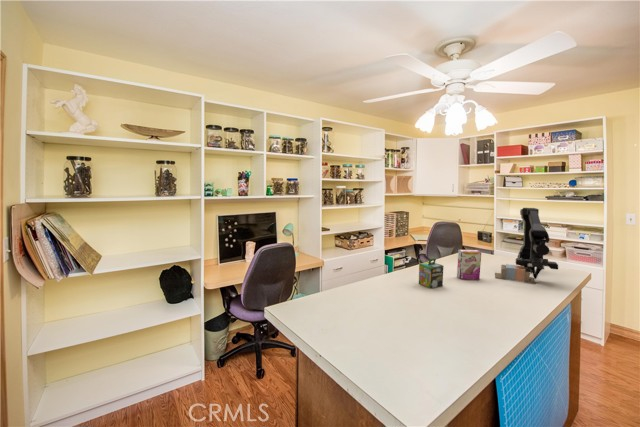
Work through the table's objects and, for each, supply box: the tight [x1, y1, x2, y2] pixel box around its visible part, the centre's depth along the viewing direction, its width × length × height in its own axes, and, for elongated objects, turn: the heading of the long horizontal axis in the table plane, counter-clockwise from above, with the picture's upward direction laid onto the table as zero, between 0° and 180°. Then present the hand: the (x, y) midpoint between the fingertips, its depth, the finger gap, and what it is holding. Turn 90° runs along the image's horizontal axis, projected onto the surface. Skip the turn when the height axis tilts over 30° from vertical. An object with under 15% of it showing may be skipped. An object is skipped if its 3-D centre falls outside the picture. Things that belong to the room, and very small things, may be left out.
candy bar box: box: [456, 249, 482, 281], centre depth 167 cm, size 11×5×16 cm, turn 84°
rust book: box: [514, 264, 526, 283], centre depth 166 cm, size 8×4×7 cm, turn 149°
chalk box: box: [418, 258, 444, 289], centre depth 157 cm, size 9×9×15 cm
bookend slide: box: [524, 267, 537, 285], centre depth 163 cm, size 10×5×6 cm, turn 149°
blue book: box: [504, 263, 516, 281], centre depth 168 cm, size 8×4×7 cm, turn 149°
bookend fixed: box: [494, 264, 507, 280], centre depth 170 cm, size 10×5×6 cm, turn 149°
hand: (534, 278), depth 162 cm, fingers closed
